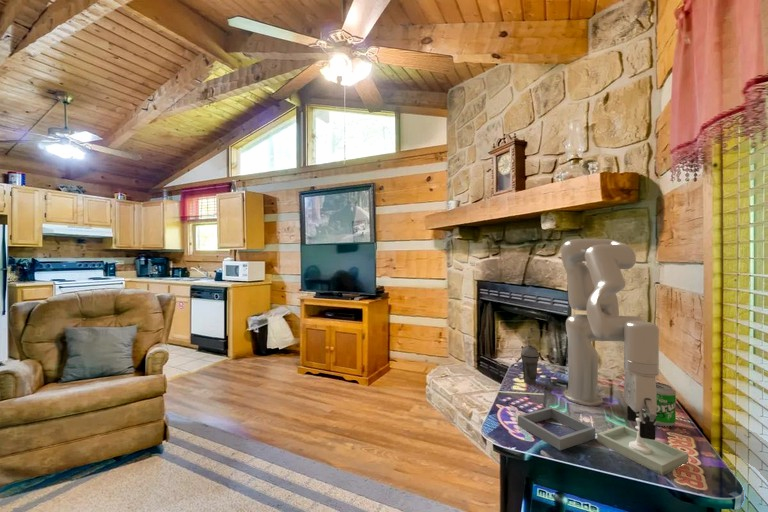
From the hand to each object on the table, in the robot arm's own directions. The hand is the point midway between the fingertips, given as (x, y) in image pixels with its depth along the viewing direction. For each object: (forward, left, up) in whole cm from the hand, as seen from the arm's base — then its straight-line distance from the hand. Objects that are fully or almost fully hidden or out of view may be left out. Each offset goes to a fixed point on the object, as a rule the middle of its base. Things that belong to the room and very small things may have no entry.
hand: (640, 429), depth 91 cm
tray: (0, 0, -6) cm, 6 cm away
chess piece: (0, 0, -6) cm, 6 cm away
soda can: (-24, -7, -6) cm, 26 cm away
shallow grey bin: (+12, -17, -6) cm, 22 cm away
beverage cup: (-13, -49, -6) cm, 51 cm away
